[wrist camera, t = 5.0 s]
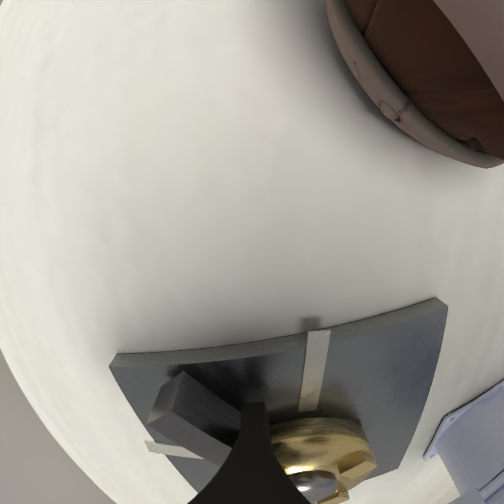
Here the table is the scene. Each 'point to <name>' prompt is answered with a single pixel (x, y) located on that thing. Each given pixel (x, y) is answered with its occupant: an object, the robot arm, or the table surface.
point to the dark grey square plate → (306, 380)
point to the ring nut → (282, 440)
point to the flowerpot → (431, 69)
